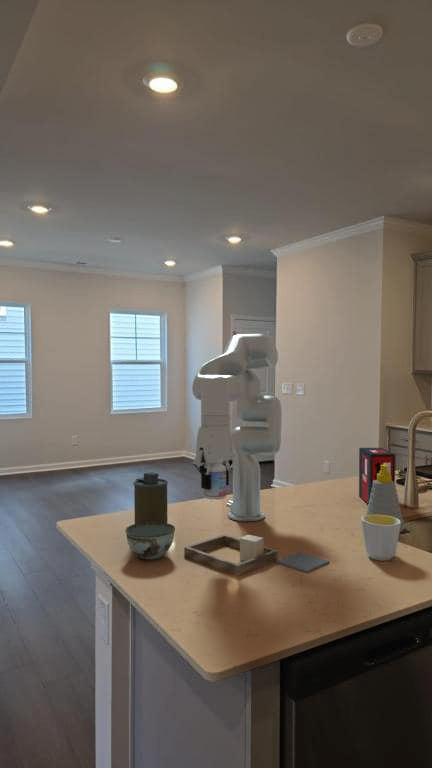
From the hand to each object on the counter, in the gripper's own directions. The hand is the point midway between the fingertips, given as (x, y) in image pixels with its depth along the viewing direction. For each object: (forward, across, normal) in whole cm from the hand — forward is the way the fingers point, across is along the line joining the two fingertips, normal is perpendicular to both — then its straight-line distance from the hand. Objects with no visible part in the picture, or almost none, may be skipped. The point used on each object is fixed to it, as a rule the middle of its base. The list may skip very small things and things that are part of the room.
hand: (215, 486), depth 146 cm
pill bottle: (+3, 0, 0) cm, 3 cm away
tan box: (+19, -5, +9) cm, 22 cm away
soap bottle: (+20, -57, +20) cm, 63 cm away
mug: (+20, -33, +32) cm, 50 cm away
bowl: (+20, +13, -12) cm, 26 cm away
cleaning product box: (+20, -85, +2) cm, 87 cm away
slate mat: (+19, -13, +20) cm, 31 cm away
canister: (+20, +3, -25) cm, 32 cm away
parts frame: (+19, -2, +4) cm, 20 cm away
